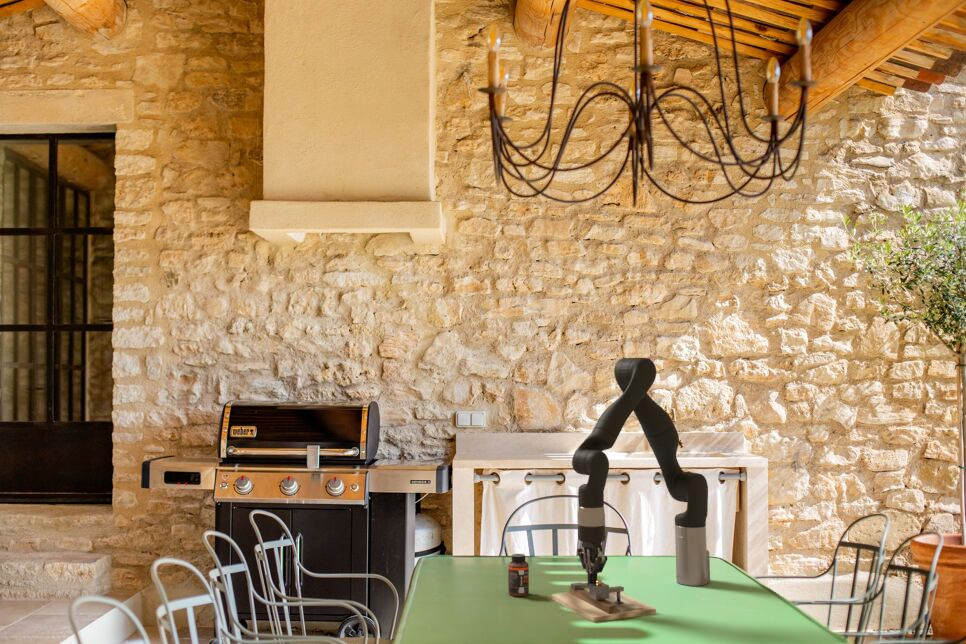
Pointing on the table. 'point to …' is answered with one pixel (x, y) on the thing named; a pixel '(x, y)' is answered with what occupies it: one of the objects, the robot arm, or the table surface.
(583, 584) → the bar
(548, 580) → the table surface
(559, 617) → the table surface
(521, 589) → the supplement bottle
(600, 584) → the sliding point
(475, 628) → the table surface
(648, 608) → the wooden slider puzzle board
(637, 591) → the table surface
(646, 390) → the robot arm
